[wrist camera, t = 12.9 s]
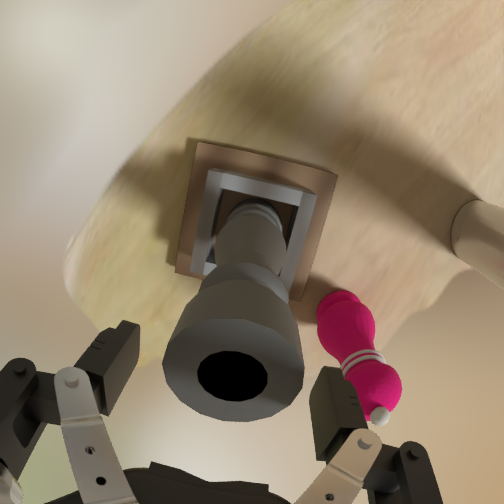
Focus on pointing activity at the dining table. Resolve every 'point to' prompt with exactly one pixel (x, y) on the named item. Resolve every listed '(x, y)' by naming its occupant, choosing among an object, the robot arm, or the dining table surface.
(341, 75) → the dining table surface
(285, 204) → the socket board
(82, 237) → the dining table surface
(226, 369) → the candle holder
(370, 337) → the pepper mill
